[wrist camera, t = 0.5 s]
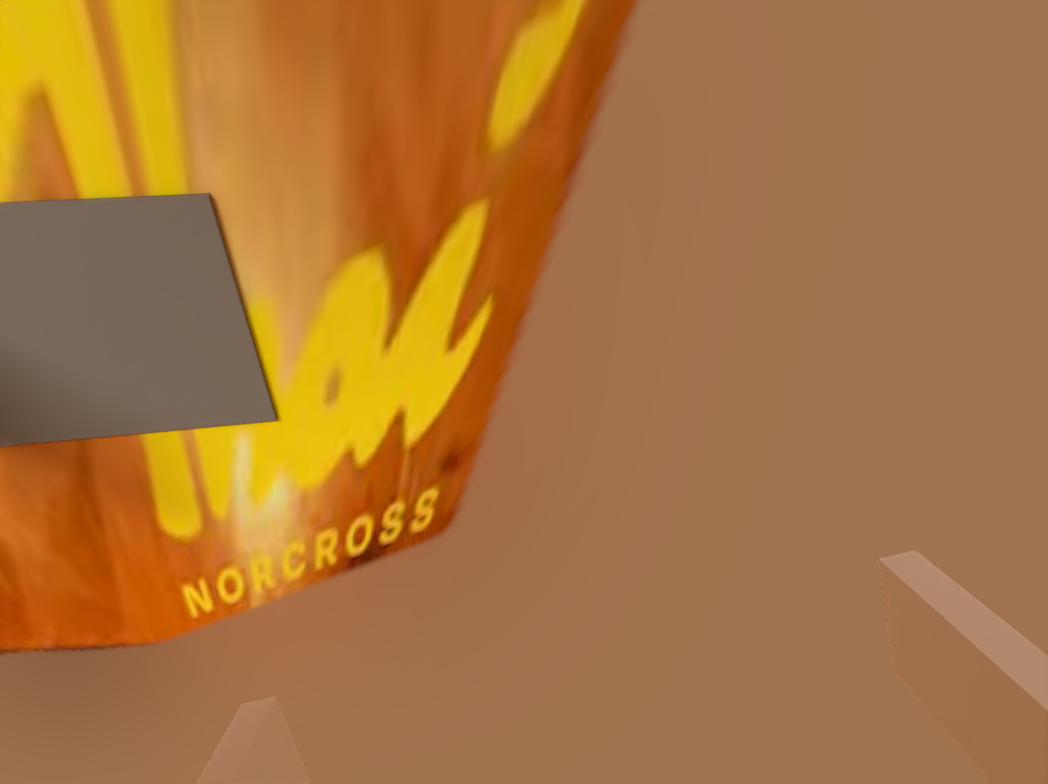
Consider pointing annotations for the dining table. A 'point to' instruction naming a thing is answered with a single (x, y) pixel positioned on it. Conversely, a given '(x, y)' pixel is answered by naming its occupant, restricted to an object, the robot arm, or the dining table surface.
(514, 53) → the dining table surface
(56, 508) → the dining table surface
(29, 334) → the rubber mat
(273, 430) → the dining table surface
